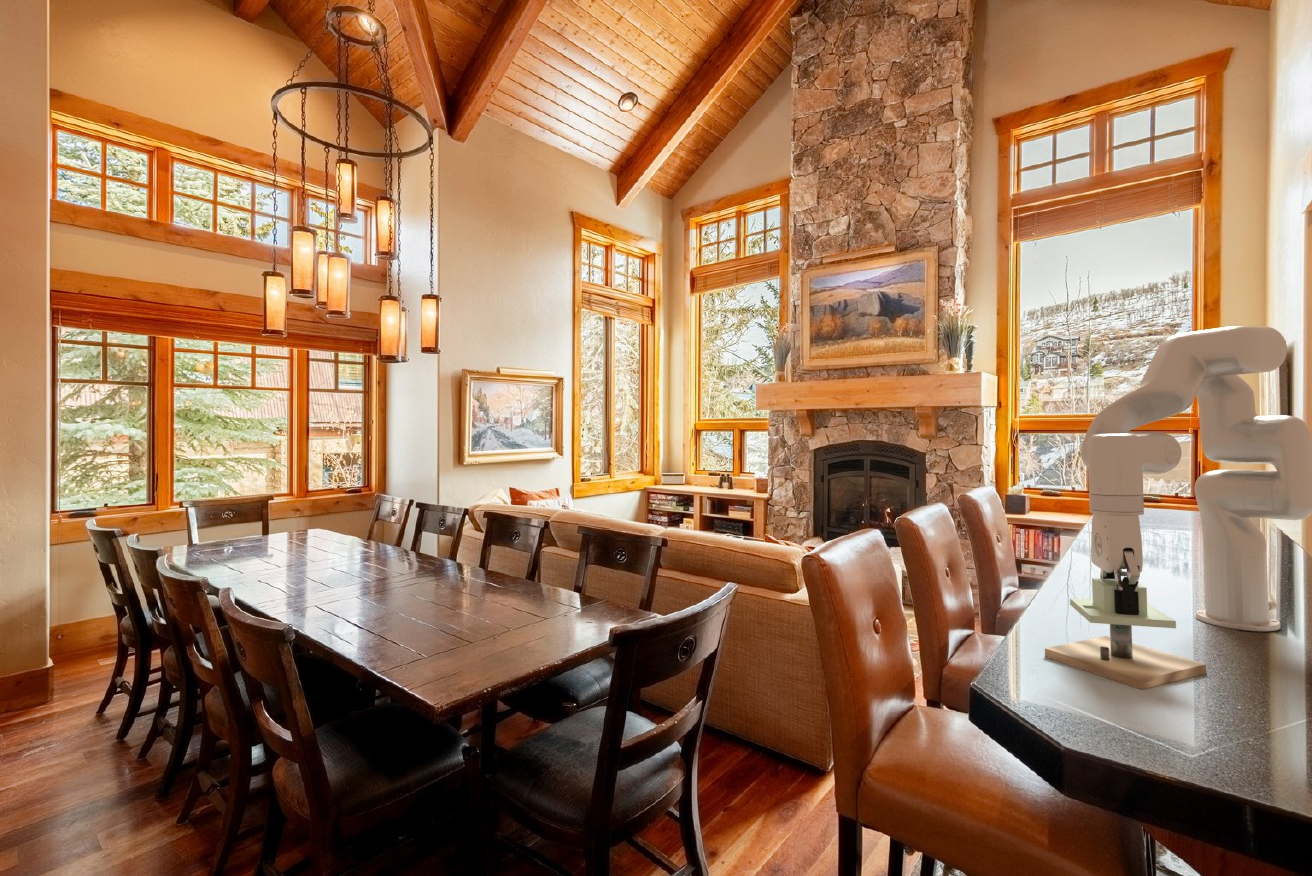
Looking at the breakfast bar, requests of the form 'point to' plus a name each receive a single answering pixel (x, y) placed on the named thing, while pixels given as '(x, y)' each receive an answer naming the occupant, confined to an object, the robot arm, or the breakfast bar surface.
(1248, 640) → the breakfast bar surface
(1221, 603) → the robot arm
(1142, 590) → the flange
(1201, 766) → the breakfast bar surface
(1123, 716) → the breakfast bar surface
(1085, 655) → the base
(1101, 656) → the pins
